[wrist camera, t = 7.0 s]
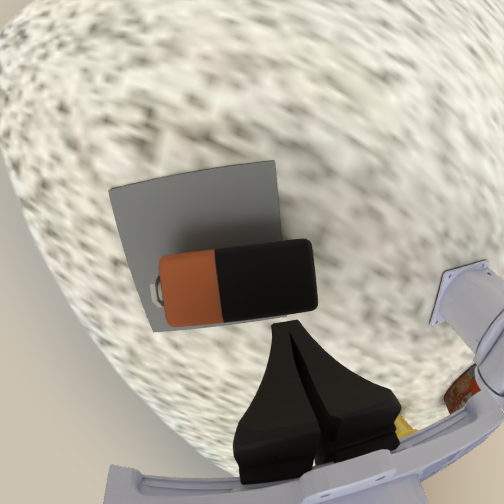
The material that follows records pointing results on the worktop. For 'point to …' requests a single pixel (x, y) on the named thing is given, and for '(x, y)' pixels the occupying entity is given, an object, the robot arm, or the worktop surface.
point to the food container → (462, 390)
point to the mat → (194, 221)
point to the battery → (236, 283)
